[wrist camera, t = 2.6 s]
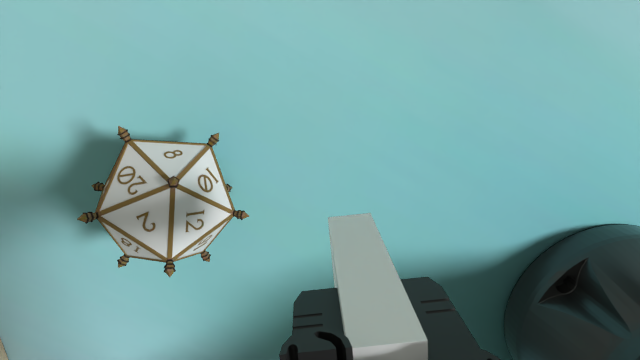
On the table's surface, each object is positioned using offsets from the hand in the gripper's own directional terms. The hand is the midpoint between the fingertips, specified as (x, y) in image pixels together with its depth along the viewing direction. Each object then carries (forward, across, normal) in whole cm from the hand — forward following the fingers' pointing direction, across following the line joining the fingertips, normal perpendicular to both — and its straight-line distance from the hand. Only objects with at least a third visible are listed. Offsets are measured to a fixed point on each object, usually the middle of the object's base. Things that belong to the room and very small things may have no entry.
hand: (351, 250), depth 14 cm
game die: (+14, +10, 0) cm, 17 cm away
